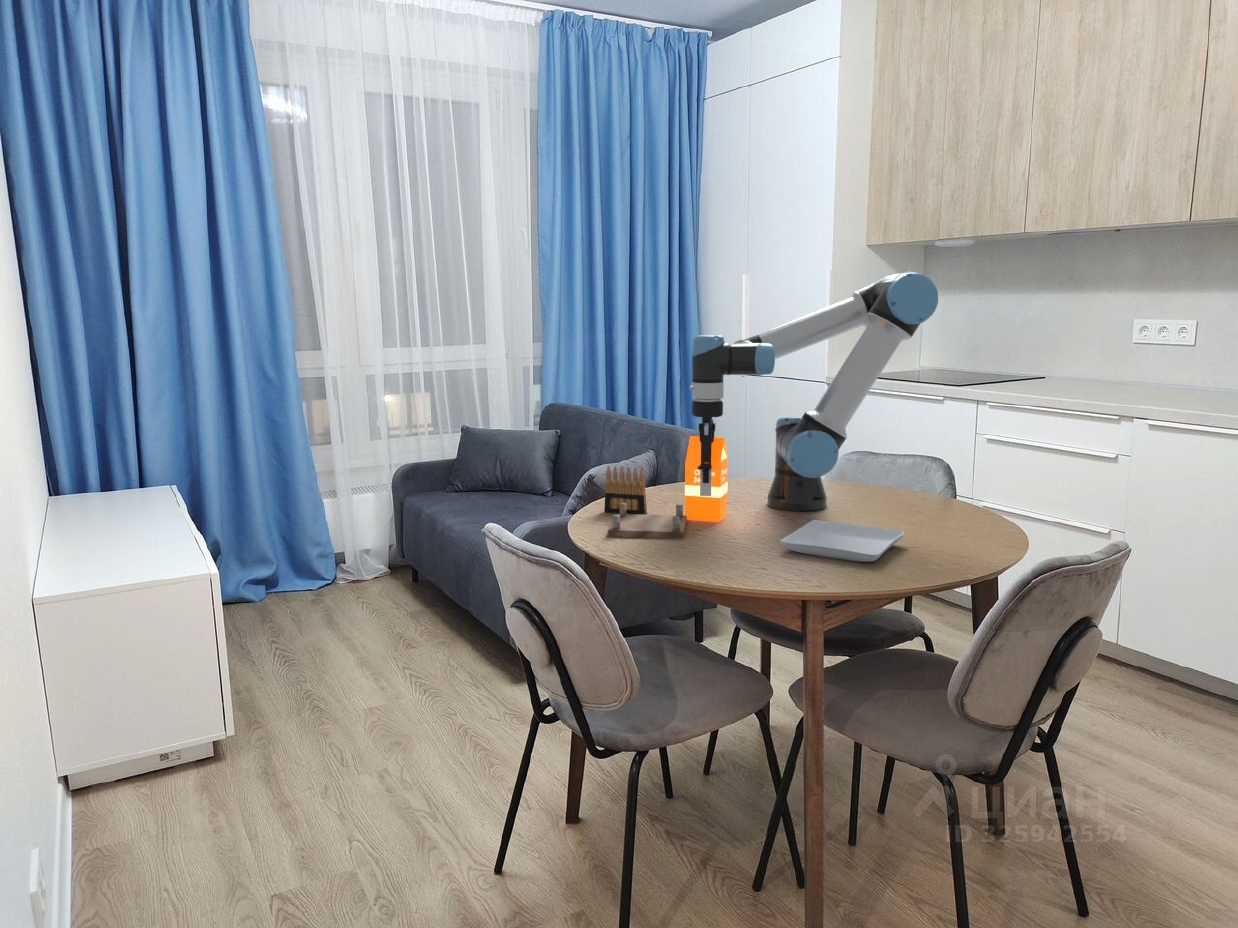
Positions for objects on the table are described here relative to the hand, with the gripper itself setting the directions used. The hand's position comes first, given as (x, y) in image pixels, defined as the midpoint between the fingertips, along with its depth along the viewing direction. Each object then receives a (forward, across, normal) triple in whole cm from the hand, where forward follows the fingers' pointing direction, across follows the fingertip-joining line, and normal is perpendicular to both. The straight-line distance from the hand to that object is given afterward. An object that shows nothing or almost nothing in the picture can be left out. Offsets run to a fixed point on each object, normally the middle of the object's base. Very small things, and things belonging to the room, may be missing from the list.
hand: (706, 491), depth 222 cm
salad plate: (+7, +26, +30) cm, 40 cm away
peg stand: (+7, +13, -13) cm, 19 cm away
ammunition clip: (+7, -3, -20) cm, 22 cm away
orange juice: (+7, 0, 0) cm, 7 cm away
